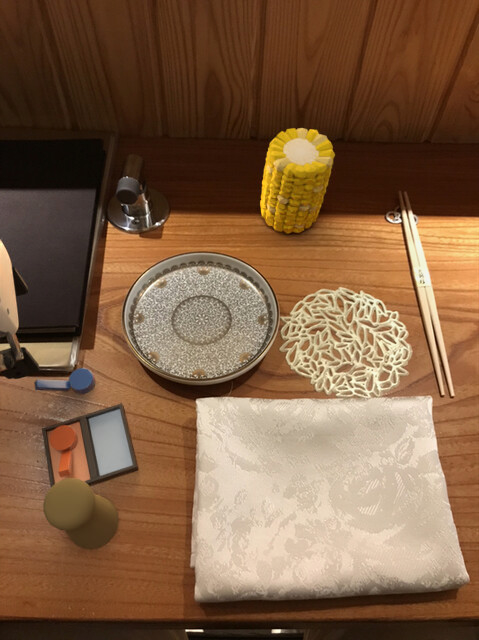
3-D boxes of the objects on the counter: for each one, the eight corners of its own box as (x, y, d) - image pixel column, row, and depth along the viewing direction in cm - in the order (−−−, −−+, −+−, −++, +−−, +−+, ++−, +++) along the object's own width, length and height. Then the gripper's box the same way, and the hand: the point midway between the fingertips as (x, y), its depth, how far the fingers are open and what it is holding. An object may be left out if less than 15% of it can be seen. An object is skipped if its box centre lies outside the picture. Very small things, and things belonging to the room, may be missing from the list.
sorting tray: (54, 497, 68) (51, 495, 67) (44, 431, 72) (41, 428, 71) (138, 469, 69) (136, 466, 68) (123, 406, 74) (121, 403, 73)
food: (272, 193, 94) (328, 215, 92) (241, 231, 86) (300, 256, 84) (288, 107, 82) (352, 130, 80) (253, 143, 75) (323, 169, 73)
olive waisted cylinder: (111, 488, 68) (86, 461, 59) (124, 537, 65) (100, 517, 56) (62, 507, 67) (29, 483, 58) (73, 557, 64) (40, 541, 55)
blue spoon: (44, 406, 74) (34, 395, 71) (41, 385, 76) (31, 373, 73) (97, 389, 75) (90, 378, 72) (93, 369, 77) (85, 357, 73)
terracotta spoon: (85, 478, 68) (77, 470, 65) (59, 487, 68) (50, 479, 65) (76, 425, 72) (67, 415, 69) (51, 433, 72) (41, 423, 68)
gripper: (-115, 158, 47) (-24, 276, 62) (-118, 327, 38) (-12, 418, 53) (-24, 136, 48) (44, 258, 63) (-8, 297, 39) (67, 395, 54)
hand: (18, 331), depth 58 cm, fingers open, 9 cm apart
